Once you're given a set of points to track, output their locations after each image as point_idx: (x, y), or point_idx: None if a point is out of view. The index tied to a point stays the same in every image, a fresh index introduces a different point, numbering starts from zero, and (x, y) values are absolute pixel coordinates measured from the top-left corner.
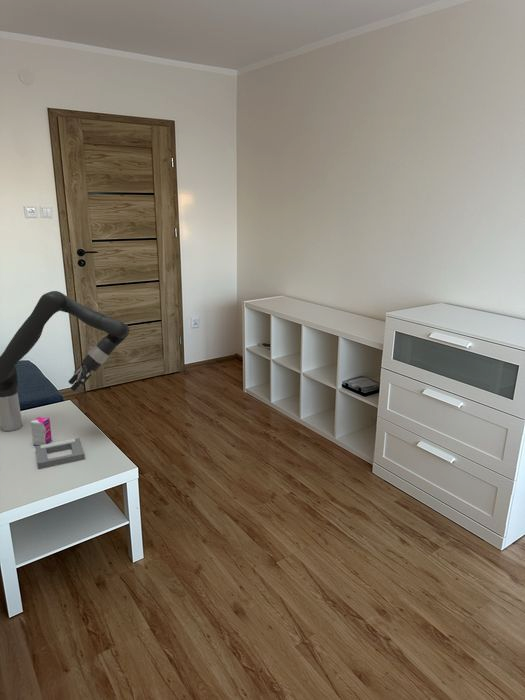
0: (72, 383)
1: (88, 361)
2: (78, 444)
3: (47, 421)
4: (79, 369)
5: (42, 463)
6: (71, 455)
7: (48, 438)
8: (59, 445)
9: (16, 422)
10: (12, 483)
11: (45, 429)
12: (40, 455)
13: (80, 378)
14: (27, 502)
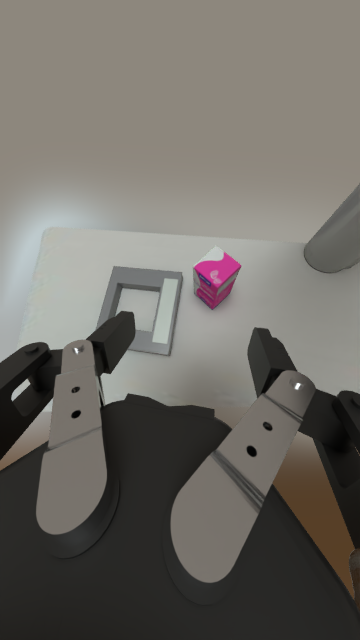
0: (249, 354)
1: None
2: (137, 344)
3: (208, 283)
4: (207, 458)
5: (112, 273)
6: (102, 320)
7: (204, 299)
8: (157, 310)
9: (317, 252)
10: (101, 237)
11: (199, 283)
12: (139, 274)
13: (7, 372)
14: (41, 248)
